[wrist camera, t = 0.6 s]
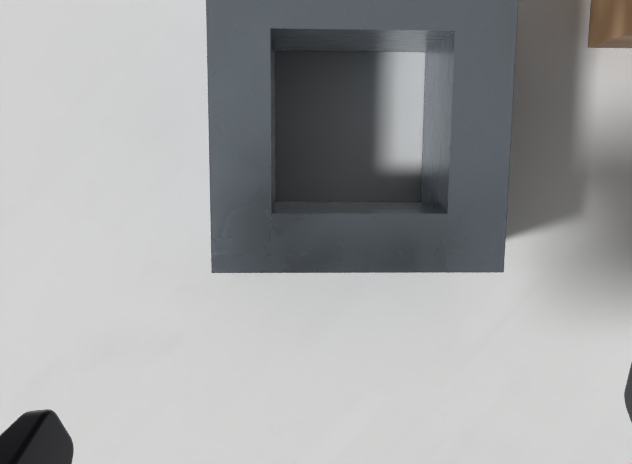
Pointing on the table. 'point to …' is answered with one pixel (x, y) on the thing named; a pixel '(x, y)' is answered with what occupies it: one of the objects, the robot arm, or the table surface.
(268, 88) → the square collar
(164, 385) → the table surface
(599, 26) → the walnut peg
